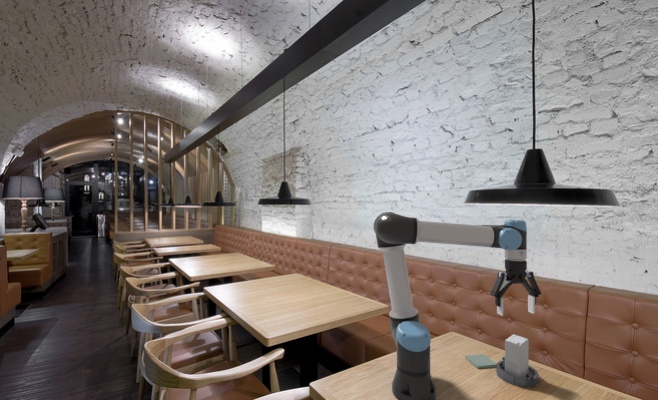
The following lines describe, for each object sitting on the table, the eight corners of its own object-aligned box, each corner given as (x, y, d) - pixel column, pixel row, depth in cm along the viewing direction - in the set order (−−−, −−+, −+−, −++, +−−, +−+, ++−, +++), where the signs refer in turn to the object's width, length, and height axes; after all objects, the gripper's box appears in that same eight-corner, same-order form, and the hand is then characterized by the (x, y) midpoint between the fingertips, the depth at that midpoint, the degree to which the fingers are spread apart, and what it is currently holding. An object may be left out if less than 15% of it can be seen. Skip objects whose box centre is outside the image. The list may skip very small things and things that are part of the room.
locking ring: (514, 389, 116) (514, 378, 116) (487, 368, 131) (487, 358, 131) (549, 386, 118) (549, 375, 118) (518, 365, 133) (518, 355, 133)
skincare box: (513, 370, 129) (512, 333, 130) (529, 376, 125) (529, 338, 125) (504, 377, 124) (503, 339, 124) (521, 384, 119) (520, 344, 120)
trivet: (477, 368, 131) (477, 366, 131) (465, 358, 140) (465, 355, 140) (497, 366, 132) (497, 364, 132) (484, 356, 141) (484, 354, 141)
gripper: (492, 261, 120) (493, 318, 119) (551, 260, 123) (552, 315, 123) (480, 258, 127) (480, 311, 127) (536, 256, 131) (536, 308, 131)
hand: (515, 313), depth 125 cm, fingers open, 13 cm apart
